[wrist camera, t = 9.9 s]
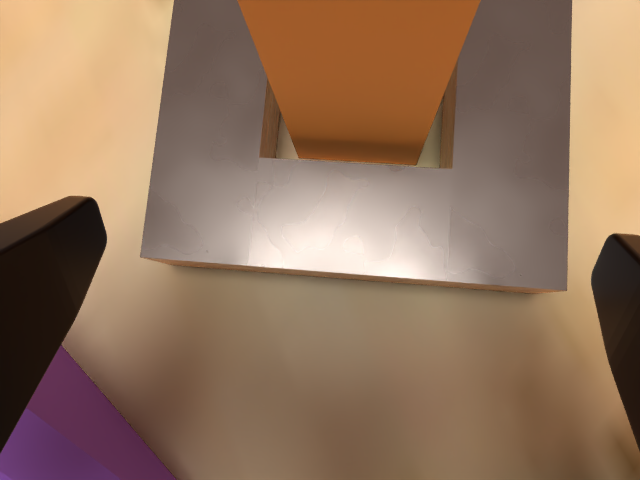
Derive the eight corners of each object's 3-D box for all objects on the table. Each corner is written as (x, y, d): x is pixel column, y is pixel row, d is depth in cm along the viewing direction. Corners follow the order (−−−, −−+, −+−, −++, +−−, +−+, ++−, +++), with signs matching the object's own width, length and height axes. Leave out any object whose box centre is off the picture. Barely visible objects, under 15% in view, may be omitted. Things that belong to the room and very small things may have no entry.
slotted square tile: (534, 293, 16) (566, 290, 14) (171, 264, 17) (140, 257, 15) (543, -48, 18) (573, -107, 15) (211, -55, 19) (189, -111, 16)
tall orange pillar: (415, 165, 17) (518, -99, 6) (298, 158, 17) (197, -103, 6) (422, 54, 17) (528, -371, 7) (309, 49, 18) (231, -361, 7)
